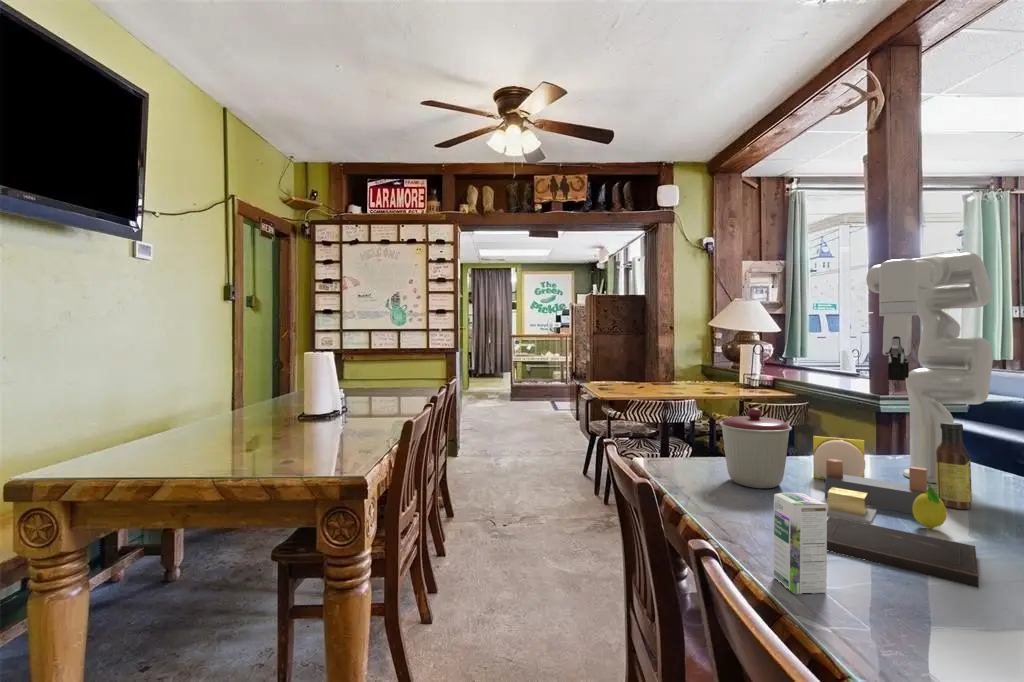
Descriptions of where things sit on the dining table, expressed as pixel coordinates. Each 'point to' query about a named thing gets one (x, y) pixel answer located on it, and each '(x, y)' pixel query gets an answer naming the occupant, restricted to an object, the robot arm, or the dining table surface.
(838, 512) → the mat
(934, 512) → the lemon
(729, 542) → the dining table surface
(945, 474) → the sauce bottle
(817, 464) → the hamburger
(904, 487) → the plane body
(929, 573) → the hardcover book
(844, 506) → the tan rectangular block
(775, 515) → the syrup box
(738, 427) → the canister
